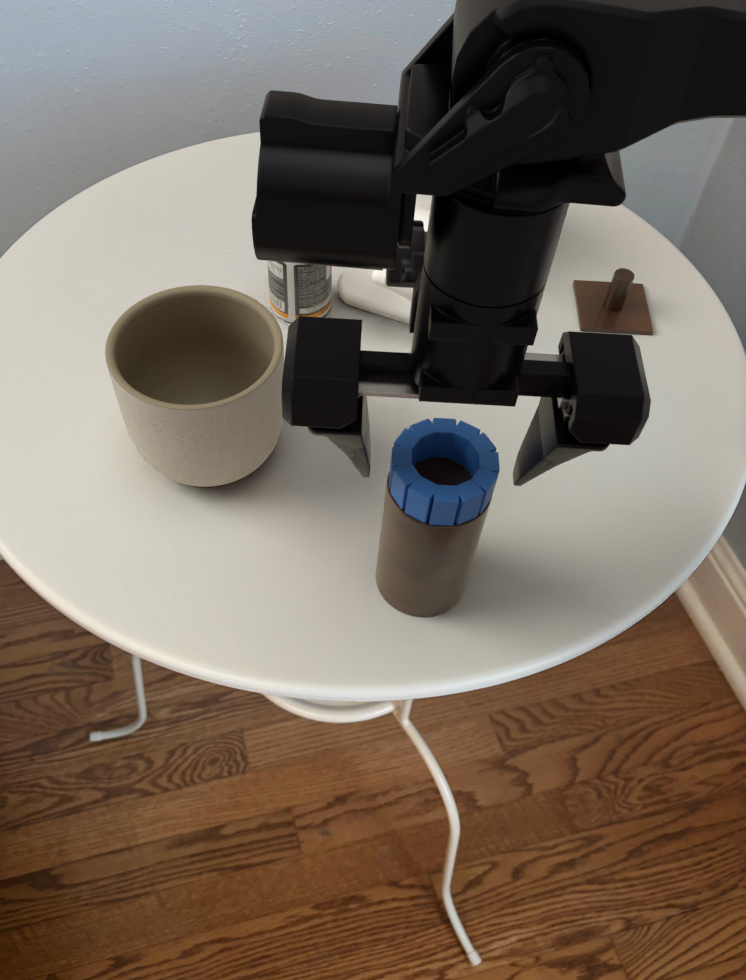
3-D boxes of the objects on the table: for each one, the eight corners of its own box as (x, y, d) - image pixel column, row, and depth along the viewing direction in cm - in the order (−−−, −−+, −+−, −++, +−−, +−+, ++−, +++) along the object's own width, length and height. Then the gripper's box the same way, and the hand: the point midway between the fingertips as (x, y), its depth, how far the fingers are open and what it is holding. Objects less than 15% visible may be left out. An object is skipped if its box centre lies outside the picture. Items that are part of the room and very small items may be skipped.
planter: (311, 413, 70) (311, 312, 61) (246, 526, 63) (235, 432, 54) (178, 370, 72) (159, 266, 63) (103, 475, 66) (69, 376, 57)
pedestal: (463, 542, 63) (490, 446, 54) (466, 619, 60) (495, 531, 50) (376, 537, 63) (387, 440, 54) (374, 614, 60) (385, 525, 50)
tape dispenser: (450, 358, 81) (445, 301, 68) (342, 323, 83) (318, 262, 70) (524, 173, 82) (532, 84, 69) (416, 144, 84) (405, 52, 72)
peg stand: (641, 286, 80) (655, 252, 77) (652, 335, 76) (667, 301, 73) (572, 283, 80) (583, 248, 77) (580, 330, 76) (592, 297, 73)
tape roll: (489, 446, 54) (496, 420, 52) (494, 528, 50) (502, 504, 48) (389, 441, 54) (393, 414, 52) (388, 522, 50) (391, 498, 48)
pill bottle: (334, 287, 79) (336, 193, 70) (327, 329, 75) (329, 235, 67) (274, 282, 79) (269, 187, 70) (265, 324, 76) (259, 229, 67)
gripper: (661, 173, 43) (579, 387, 56) (295, 152, 43) (299, 372, 56) (702, 324, 36) (599, 525, 49) (275, 300, 36) (285, 507, 50)
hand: (441, 475), depth 51 cm, fingers open, 9 cm apart
